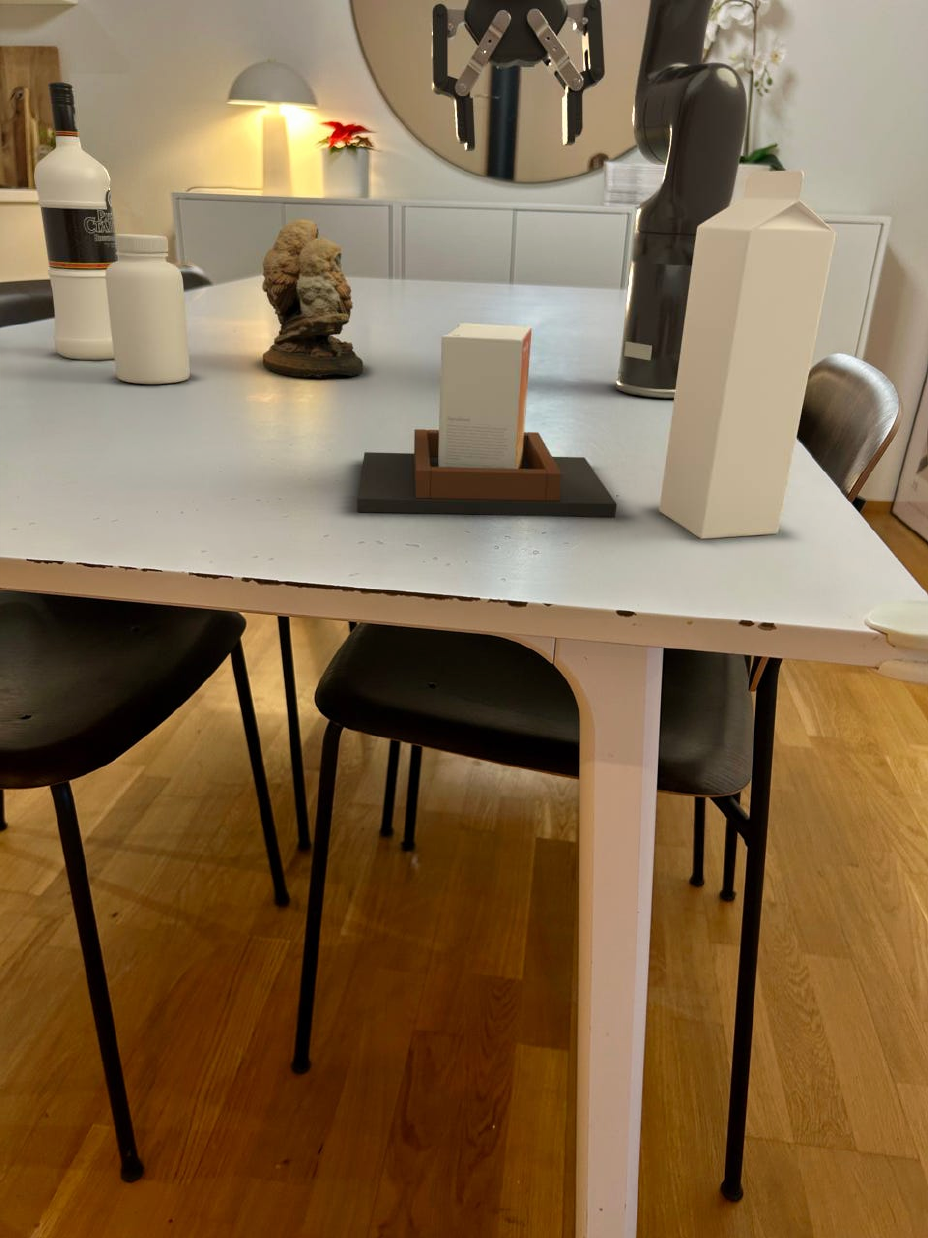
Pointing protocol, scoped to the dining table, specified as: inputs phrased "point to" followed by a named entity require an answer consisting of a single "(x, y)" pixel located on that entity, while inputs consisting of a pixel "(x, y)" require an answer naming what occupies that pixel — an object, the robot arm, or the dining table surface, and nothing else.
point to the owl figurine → (308, 304)
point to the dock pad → (481, 484)
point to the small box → (483, 396)
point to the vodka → (76, 236)
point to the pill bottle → (147, 312)
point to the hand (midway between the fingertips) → (519, 146)
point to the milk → (745, 359)
